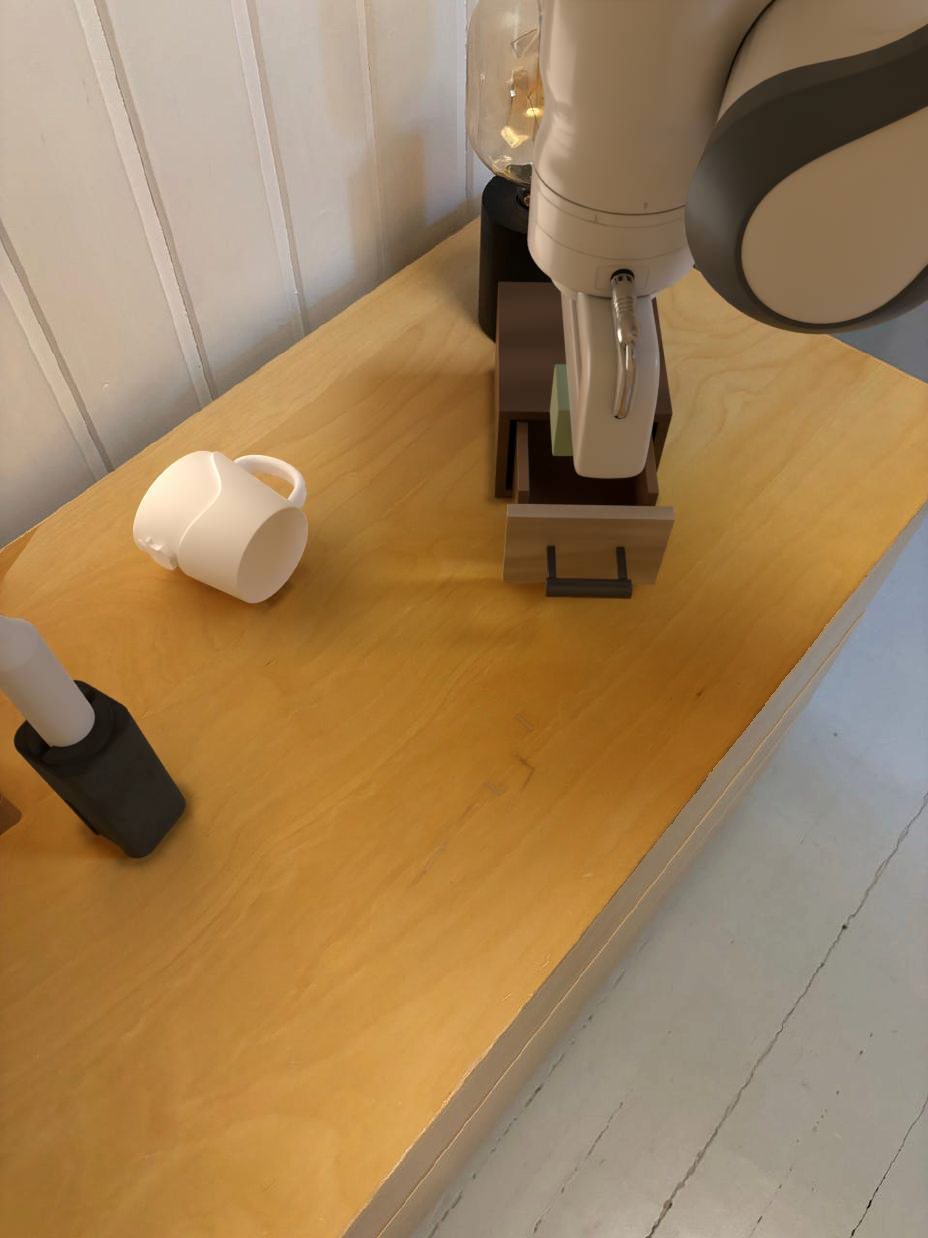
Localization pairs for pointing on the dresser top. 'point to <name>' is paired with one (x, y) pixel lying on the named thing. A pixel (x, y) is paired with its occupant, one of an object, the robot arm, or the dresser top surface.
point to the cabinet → (541, 369)
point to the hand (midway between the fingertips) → (586, 414)
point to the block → (560, 414)
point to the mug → (225, 523)
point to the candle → (86, 745)
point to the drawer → (580, 523)
